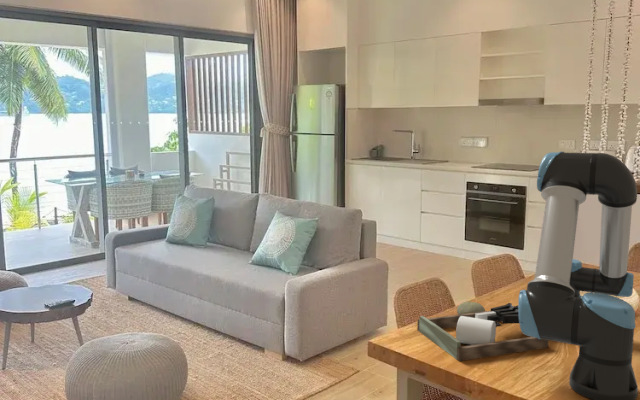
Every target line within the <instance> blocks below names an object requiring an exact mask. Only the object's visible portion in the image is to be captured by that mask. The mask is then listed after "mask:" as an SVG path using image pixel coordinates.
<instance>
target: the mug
mask: <svg viewBox="0 0 640 400" xmlns="http://www.w3.org/2000/svg"><path fill="white" fill-rule="evenodd" d="M455 328H456V330H455V333H456V334H455V338H456V339H458V340H459V341H461V344H465V345H468V346H471V345H478V344H485V343H492V342H496V336H497V333H496V332H497V326H496V323H495V321H490V320H484V319H478V318H472V317H466V316H460V318H459V320H458V323H457V327H455Z"/></svg>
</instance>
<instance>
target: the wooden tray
mask: <svg viewBox="0 0 640 400" xmlns="http://www.w3.org/2000/svg"><path fill="white" fill-rule="evenodd" d="M484 312H491V310H488V311H487V310H485V311H484ZM484 312H476V313H484ZM476 313H468V314H460V315H458V314H453V315H446V316H445V315H444V316H437V317H428V318H427V317H425V316H424V315H420V316H419V319H417V327H416V328H417V332H419V333H421V334H422V336H423V335H424V336H425V337H426V338H428V339H429V340H430V341H431V342H433V343H434V344H435V345H437V346H438V347H439V348H440V349H442V350H443V351H445V352H446V353H447V354H449V355H450V356H451V357H453V358H454V359H455V360H457V361H458V362H460V361H461V362H463V361H468V360H474V359H475V360H476V359H480V358H481V359H482V358H487V357H489V358H490V357H493V356H495V357H496V356H501V355H507V354H508V355H509V354H513V353H514V354H515V353H521V352H527V351H529V352H530V351H534V350H540V349H541V350H542V349H547V348H548V349H549V340H546V339H538V338H535V337H531V336H527V337H522V338H514V339H507V340H500V341H495V342H492V343H485V344H478V345H465V346H462V343H461V341H459V340H458V339H456V336H453V335H451V334H450V333H449V332H447V331H446V330H444V329H448V328H457V323H458V320H459V318H460V316H466V317H472V318H475V314H476ZM495 323H496V327H499V326H502V323H501V322H497V321H495Z"/></svg>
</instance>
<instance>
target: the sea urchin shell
mask: <svg viewBox="0 0 640 400" xmlns="http://www.w3.org/2000/svg"><path fill="white" fill-rule="evenodd" d="M484 311H486V309H485V307H484V306H483V305H482V304H480V303H479V302H474V301H465V302H464V301H463V302H462V303H459V305H458V306H457V308H456V313H457V315H460V314H468V313H476V312H484Z"/></svg>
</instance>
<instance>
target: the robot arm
mask: <svg viewBox="0 0 640 400" xmlns="http://www.w3.org/2000/svg"><path fill="white" fill-rule="evenodd" d="M539 164H540V165H539V167H538V171H537V178H536V179H537V180H536V189H537V190H538V192H539V193H540V194H541V195H540V196H541V198H542V199H543V200H544V201H545V205H544V211H543V213H544V214H543V221H542V225H541V227H542V228H541V234H540V238H539V239H540V240H539V247H538V253H537V260H536V266H535V267H536V268H535V273H534V278H533V279H532V280H530V281H529V282H528V283H527V286H526V289H521V290H520V291H519V294H518V301H517V302H518V305H515V306H514V305H512V303H511V302H508V303H506V304H503V305H499V306H494V307H492V308H490V311H491V312H484V313H476V314H475V318H478V319H484V320H490V321H496V322H498V323H501V324H503V325H504V324H505V325H509V324H519V327H520V330H521V333H522V334H523V335H525V336H527V337H535V338H538V339H546V340H548V341H553V342H557V343H563V344H569V345H574V346H579V349H578V356H577V358H576V361H575V362H574V364H573V367H572V369H571V371H570V373H569V374H570V375H569V381H568V382H569V386H570V387H571V389H572V390H573V391H574V392H576V393H577V394H579V395H581V396H583V397H584V398H587V399H590V400H637V399H638V395H639V394H638V392H639V387H638V382H637V379H636V376H635V372H634V368H633V365H632V364H633V363H632V362H633V361H632V360H633V352H634V351H633V350H634V349H633V348H634V337H635V336H634V335H635V329H636V311H635V309H634V307H633V306H632V304H630V303H628V302H627V301H625V300H624V299H622V298H619V297H623V298H625V297H626V298H630V297H631V296H633V292H634V291H633V289H634V274H633V272H632V273H631V272H629V271H628V263H629V252H630V251H629V250H630V239H631V238H630V235H631V224H632V211H633V206H634V205H635V204H636V203H637V199H638V186H637V183H636V180H635V177H634V175H633V173H632V172H631V170H630V169H629V168H628V167H627V165H626V164H625V163H624V162H623V161H622V160H620V159H619V158H618V157H616V156H615V155H614V156H613V155H612V154H608V153H606V152H604V153H603V152H598V153H597V152H565V151H558V152H557V151H556V152H555V151H552V152H548V153H546V154H544V156H543V157H542V159H541V161H540V163H539ZM587 195H593V196H595V195H597V199H598V200H597V201H598V202H599V203H600V204H601V218H600V219H601V220H600V221H601V222H600V240H599V241H600V243H599V261H598V262H599V267H598V268H591V267H583V264H582V263H583V262H582V261H580V260H579V259H574V249H575V243H576V242H575V241H576V236H577V235H576V234H577V225H578V218H579V210H580V205H581V204H583V203H585V201H586V199H587ZM581 292H585V293H584V294H583V295H581V294H580V293H581Z"/></svg>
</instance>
